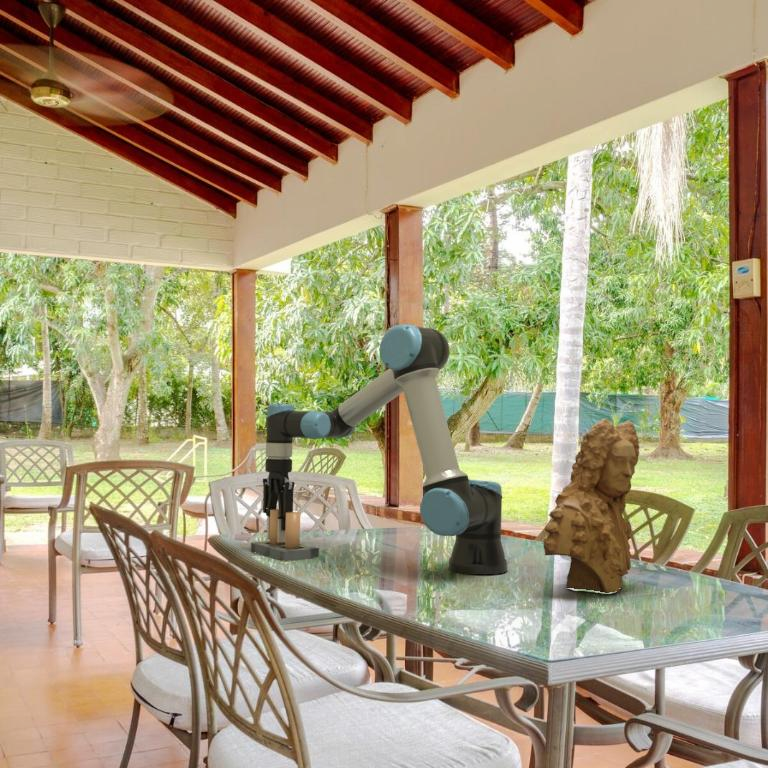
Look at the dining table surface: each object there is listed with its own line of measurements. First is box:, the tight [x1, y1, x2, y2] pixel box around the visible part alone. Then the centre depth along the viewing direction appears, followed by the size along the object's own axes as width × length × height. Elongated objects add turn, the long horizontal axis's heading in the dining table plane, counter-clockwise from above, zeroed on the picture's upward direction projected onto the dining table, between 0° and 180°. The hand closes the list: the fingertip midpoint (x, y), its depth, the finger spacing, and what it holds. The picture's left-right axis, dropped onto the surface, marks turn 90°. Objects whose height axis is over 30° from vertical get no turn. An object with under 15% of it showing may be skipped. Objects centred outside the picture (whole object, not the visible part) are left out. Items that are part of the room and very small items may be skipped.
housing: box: [250, 540, 320, 562], centre depth 241 cm, size 18×11×2 cm, turn 38°
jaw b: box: [268, 508, 284, 546], centre depth 244 cm, size 4×4×12 cm
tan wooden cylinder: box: [285, 511, 301, 550], centre depth 238 cm, size 4×4×12 cm
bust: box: [543, 417, 640, 593], centre depth 203 cm, size 34×18×40 cm, turn 149°
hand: (276, 540), depth 244 cm, fingers open, 5 cm apart
